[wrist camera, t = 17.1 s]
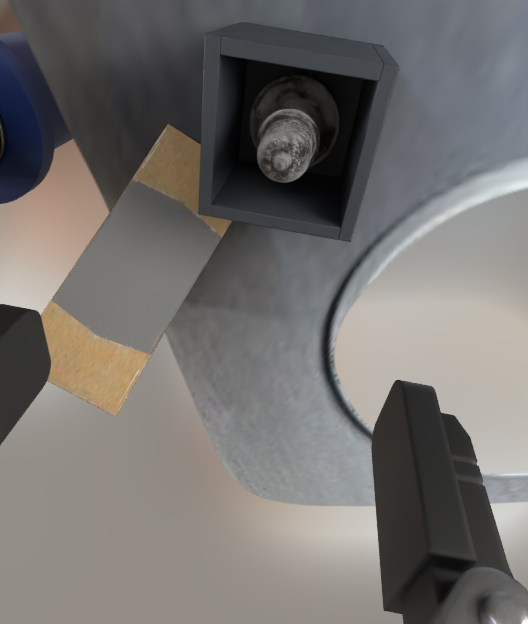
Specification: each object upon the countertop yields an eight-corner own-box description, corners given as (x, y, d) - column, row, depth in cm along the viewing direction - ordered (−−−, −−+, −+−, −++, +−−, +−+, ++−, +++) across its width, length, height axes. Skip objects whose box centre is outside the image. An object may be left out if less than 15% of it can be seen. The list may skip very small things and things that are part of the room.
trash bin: (229, 163, 35) (197, 214, 27) (241, 21, 29) (204, 33, 21) (348, 184, 35) (350, 242, 27) (383, 45, 29) (400, 65, 21)
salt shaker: (250, 74, 30) (209, 113, 21) (336, 59, 29) (335, 92, 19) (264, 160, 33) (235, 227, 24) (342, 149, 32) (343, 216, 23)
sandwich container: (259, 184, 36) (218, 282, 24) (177, 303, 44) (117, 419, 32) (167, 119, 34) (71, 190, 22) (99, 257, 42) (5, 362, 30)
